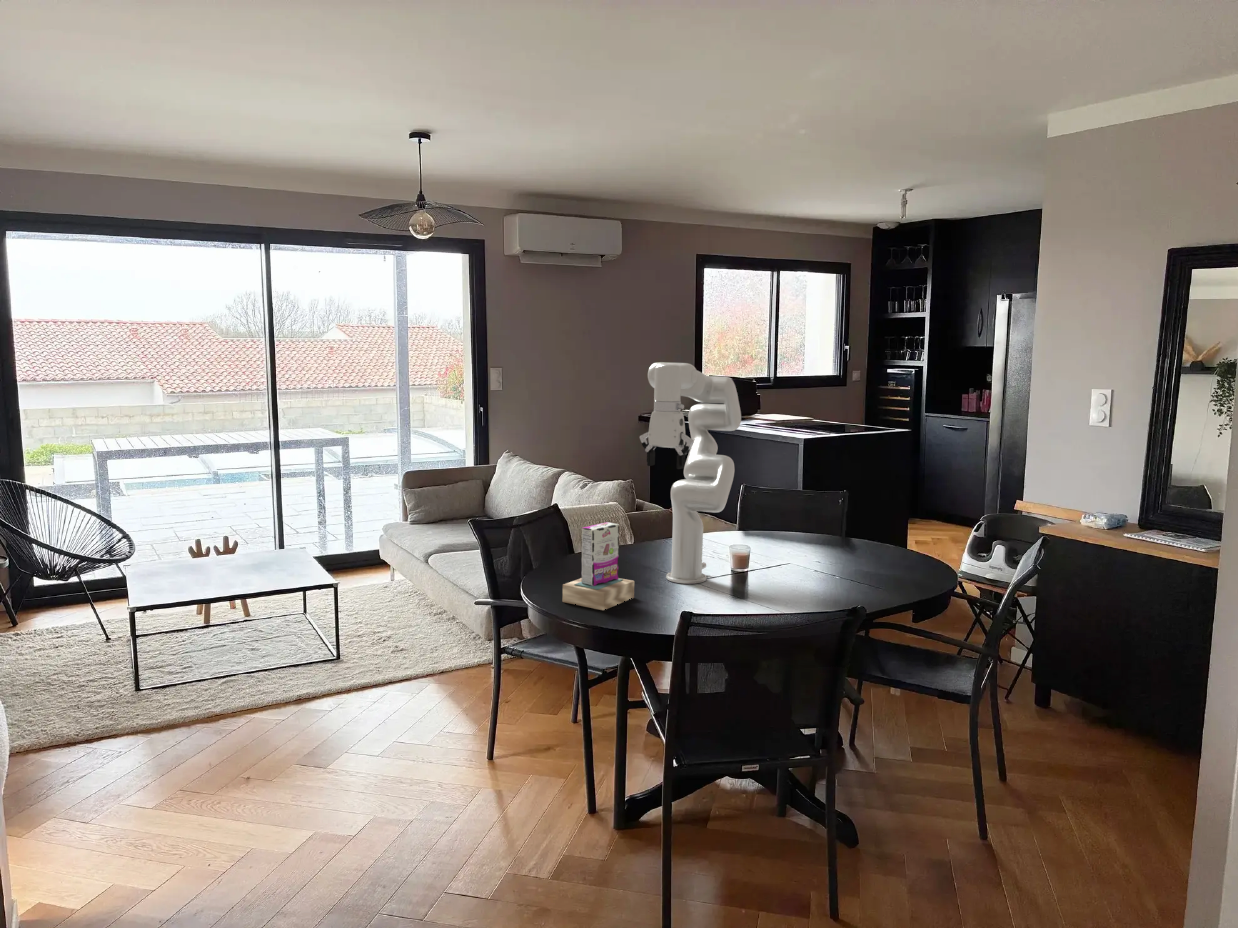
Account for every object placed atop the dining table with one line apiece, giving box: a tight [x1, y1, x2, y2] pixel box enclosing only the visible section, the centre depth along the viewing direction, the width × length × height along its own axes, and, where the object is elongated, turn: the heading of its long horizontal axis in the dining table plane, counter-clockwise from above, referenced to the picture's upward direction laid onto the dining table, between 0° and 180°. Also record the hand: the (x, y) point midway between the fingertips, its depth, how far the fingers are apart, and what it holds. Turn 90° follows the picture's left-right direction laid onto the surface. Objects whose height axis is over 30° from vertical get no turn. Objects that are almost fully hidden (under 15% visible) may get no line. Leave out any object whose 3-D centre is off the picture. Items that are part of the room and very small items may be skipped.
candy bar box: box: [581, 521, 620, 586], centre depth 263 cm, size 11×5×16 cm, turn 139°
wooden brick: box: [561, 577, 635, 611], centre depth 264 cm, size 16×14×5 cm
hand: (665, 467), depth 264 cm, fingers open, 9 cm apart
